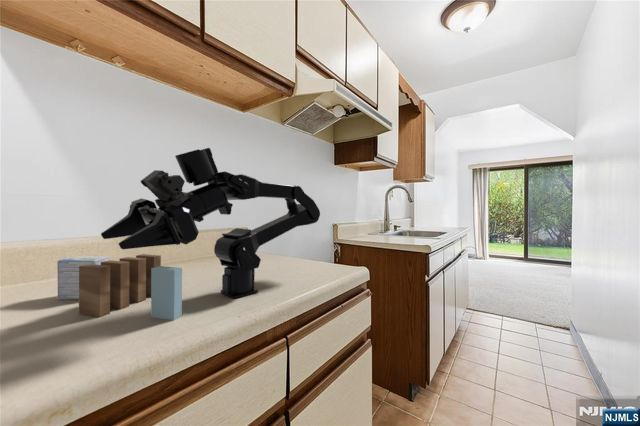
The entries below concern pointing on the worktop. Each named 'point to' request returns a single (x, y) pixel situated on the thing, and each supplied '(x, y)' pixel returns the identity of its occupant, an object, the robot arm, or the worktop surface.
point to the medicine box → (73, 274)
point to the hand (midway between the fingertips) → (110, 241)
